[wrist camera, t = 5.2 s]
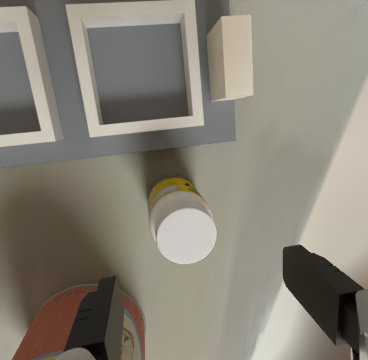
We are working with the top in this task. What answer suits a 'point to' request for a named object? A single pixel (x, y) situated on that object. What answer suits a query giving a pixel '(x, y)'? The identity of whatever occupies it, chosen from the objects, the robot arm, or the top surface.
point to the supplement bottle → (180, 220)
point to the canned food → (63, 320)
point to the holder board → (118, 76)
